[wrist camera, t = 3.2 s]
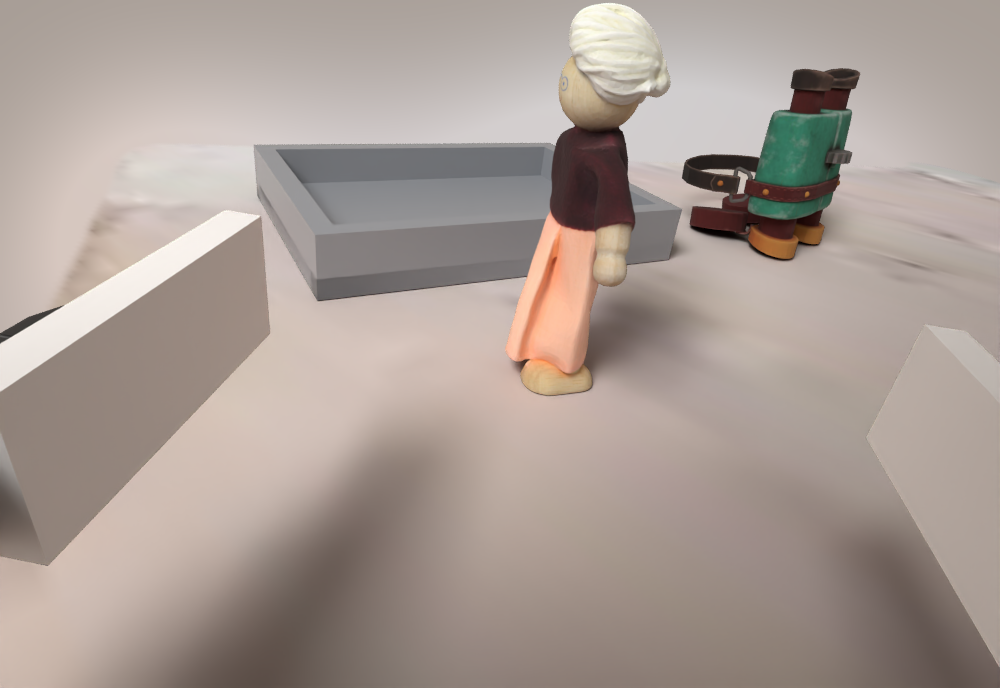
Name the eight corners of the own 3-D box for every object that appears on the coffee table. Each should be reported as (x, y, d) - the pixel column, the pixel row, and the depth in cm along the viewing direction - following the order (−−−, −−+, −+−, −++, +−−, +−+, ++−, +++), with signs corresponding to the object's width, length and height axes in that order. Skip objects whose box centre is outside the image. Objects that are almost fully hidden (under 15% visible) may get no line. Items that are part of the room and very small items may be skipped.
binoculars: (737, 60, 44) (896, 71, 38) (708, 211, 49) (846, 242, 43) (671, 60, 38) (847, 72, 32) (646, 232, 43) (795, 271, 37)
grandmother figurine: (476, 325, 27) (514, -13, 21) (559, 320, 28) (618, 1, 22) (539, 438, 21) (619, 8, 15) (641, 426, 22) (756, 25, 16)
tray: (543, 184, 47) (549, 142, 45) (668, 259, 37) (682, 209, 35) (257, 196, 38) (253, 144, 36) (317, 300, 27) (315, 234, 26)
